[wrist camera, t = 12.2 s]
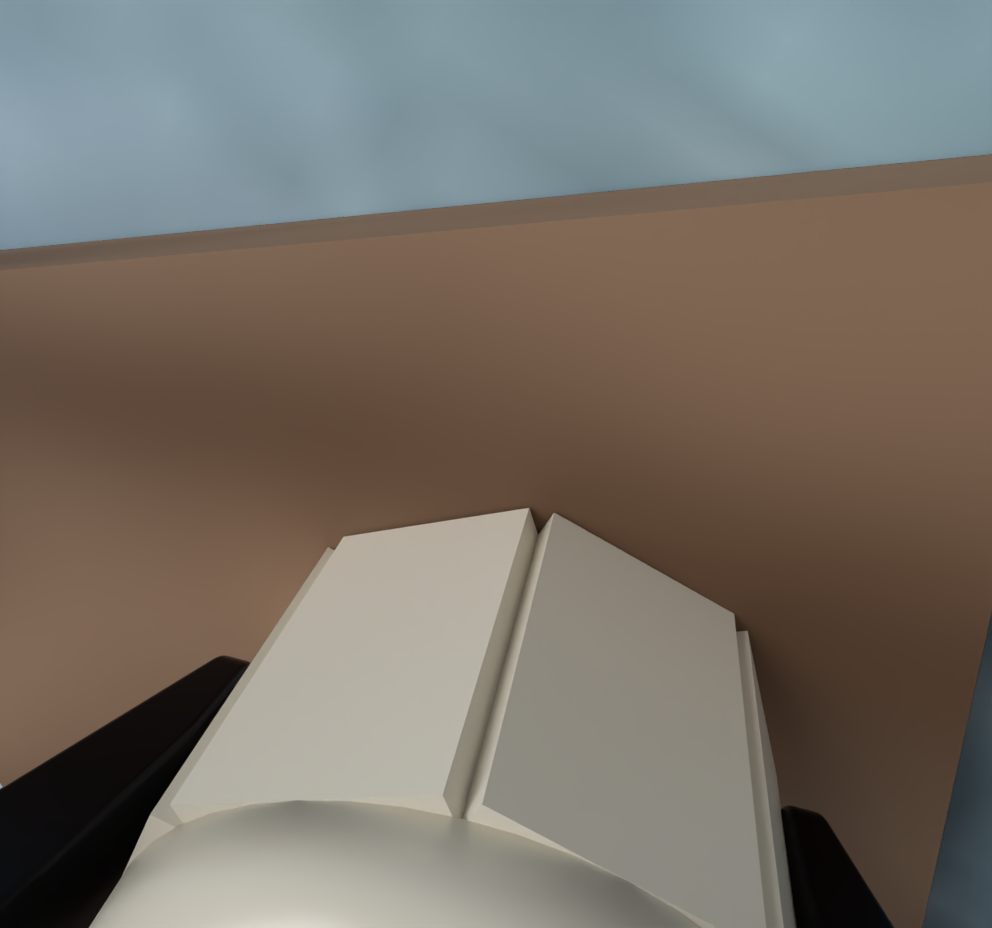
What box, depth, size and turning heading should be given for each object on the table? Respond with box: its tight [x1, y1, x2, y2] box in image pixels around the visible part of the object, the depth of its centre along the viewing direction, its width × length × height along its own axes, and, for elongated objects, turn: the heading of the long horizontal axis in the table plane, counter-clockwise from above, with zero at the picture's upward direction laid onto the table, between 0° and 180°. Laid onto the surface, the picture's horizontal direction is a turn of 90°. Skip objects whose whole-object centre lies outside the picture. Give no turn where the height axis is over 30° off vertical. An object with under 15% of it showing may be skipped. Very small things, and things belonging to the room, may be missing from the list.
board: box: [0, 154, 992, 928], centre depth 12 cm, size 20×14×1 cm
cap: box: [89, 508, 797, 928], centre depth 8 cm, size 6×6×4 cm
